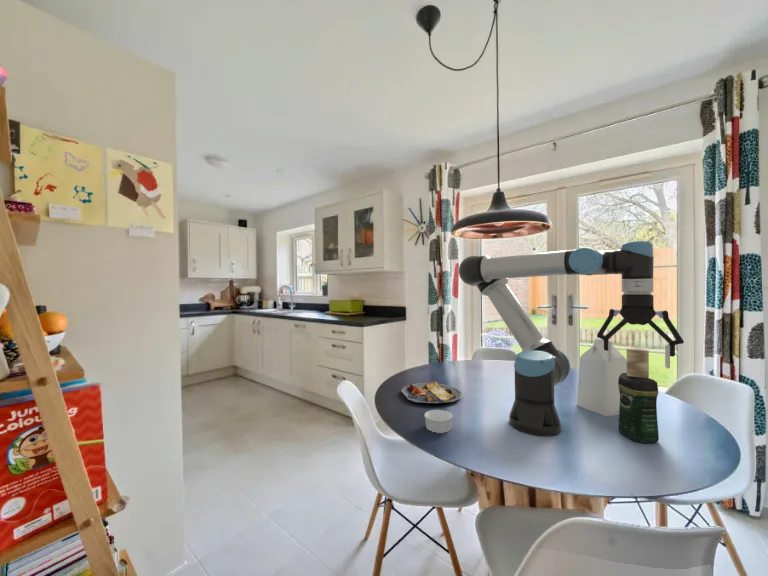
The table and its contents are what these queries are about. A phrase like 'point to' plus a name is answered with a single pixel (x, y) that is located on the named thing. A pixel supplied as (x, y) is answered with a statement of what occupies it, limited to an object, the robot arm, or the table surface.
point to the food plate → (435, 388)
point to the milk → (600, 379)
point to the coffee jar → (638, 408)
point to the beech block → (637, 362)
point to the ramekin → (438, 421)
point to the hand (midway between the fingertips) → (637, 364)
